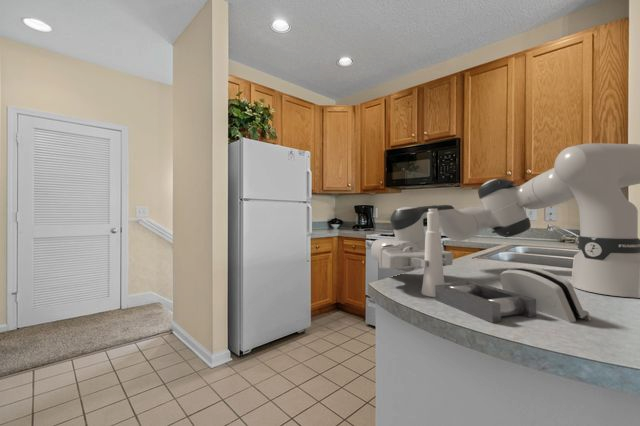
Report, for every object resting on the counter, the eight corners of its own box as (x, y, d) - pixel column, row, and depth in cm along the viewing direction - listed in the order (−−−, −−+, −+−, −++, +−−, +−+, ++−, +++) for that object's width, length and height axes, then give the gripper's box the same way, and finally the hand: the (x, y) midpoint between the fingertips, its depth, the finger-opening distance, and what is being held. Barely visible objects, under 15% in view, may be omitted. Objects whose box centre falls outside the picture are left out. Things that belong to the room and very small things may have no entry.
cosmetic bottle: (449, 297, 73) (449, 208, 73) (424, 297, 74) (423, 208, 74) (442, 291, 79) (441, 208, 79) (418, 290, 80) (418, 208, 80)
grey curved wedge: (593, 321, 57) (578, 273, 57) (573, 330, 57) (558, 282, 56) (522, 296, 74) (509, 259, 73) (506, 304, 73) (493, 266, 73)
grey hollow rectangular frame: (473, 295, 75) (473, 281, 75) (536, 316, 60) (536, 299, 60) (435, 299, 72) (435, 285, 72) (492, 323, 57) (492, 304, 57)
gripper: (433, 264, 92) (468, 273, 79) (374, 268, 86) (402, 278, 73) (433, 244, 92) (468, 249, 79) (374, 246, 86) (402, 252, 72)
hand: (436, 263), depth 76 cm, fingers closed on cosmetic bottle, 4 cm apart
